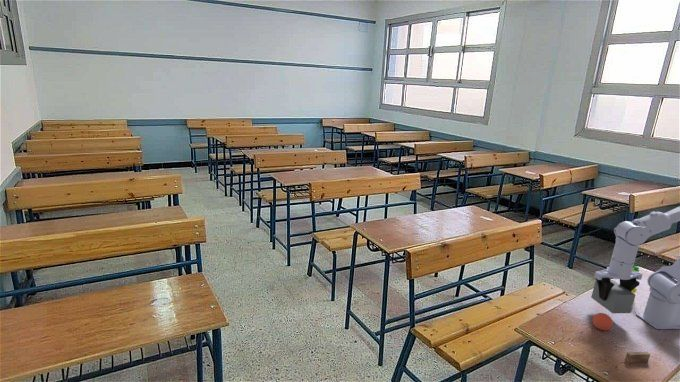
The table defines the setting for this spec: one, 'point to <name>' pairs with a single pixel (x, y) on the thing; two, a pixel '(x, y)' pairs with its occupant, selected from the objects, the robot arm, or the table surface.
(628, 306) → the gray block
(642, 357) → the brown block
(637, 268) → the toy figure
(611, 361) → the table surface
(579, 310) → the table surface
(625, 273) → the robot arm
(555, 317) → the table surface
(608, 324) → the ball
